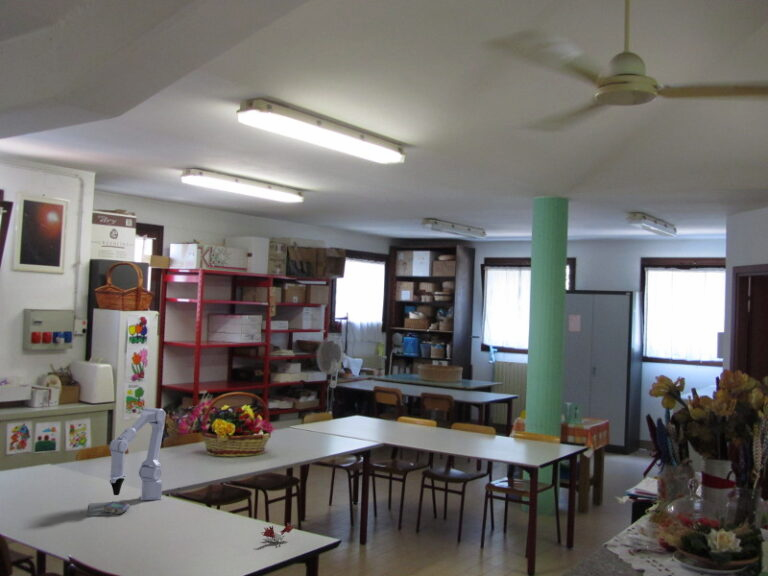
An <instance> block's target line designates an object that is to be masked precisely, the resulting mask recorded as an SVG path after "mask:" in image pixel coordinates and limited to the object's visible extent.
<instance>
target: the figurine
mask: <svg viewBox="0 0 768 576" xmlns="http://www.w3.org/2000/svg"><path fill="white" fill-rule="evenodd" d="M263 528H264V531H261V535H263V537H266V541H268V542H272V541H275V543H277V542H279V541H281V542H283V541H284V540H283V539H284V538H285V537H286V536H285V534H284V533H288V534H289V533H291V531H292V530H294V528H293V524H291V523H290V522H287V524H286V525H285V527H284V528H283V529H282V530H279V531H276V532H275V529H274V525H272V526H268V527H263Z"/></svg>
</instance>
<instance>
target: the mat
mask: <svg viewBox="0 0 768 576" xmlns="http://www.w3.org/2000/svg"><path fill="white" fill-rule="evenodd" d="M111 502H112V501H110V502H109V501H106V502H105V501H104V502H93V503H92V502H91V503H90V502H89V505H88V516H87V517H88V518H90V517H101V516H103V517H106V516H117V515H118V514H115V513H114V514H113V513H112V514H111V513H110V512H107V511H105V510H104V507H105V506H107V505H108V504H109V503H111Z"/></svg>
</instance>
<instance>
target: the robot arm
mask: <svg viewBox="0 0 768 576" xmlns="http://www.w3.org/2000/svg"><path fill="white" fill-rule="evenodd" d="M166 416H167V412H165V410H164V409H163V408H155V407H148V406H147V407H144V409H143V410H142V411H141V412H140V416H139V417H138V418H137V420H136V421H135V422H134V423H133V425H132V426H130V427H127V428H125V429H124V431H123V432H122V433H120V435H119V436H118V437H117V438H114V439H113V440H111V441H110V443H109V445H108V449H109V451H110V455H111V463H110V476H109V478H110V480H109V484H110V485H111V488H112V493H113V496H119V495H120V493H121V489H122V486H123V483H124V481H125V478H126V477H127V474H125V460H126V458H125V456H126V452H127V450H128V448H129V446H130V443H131V442H132V441H133V440H134V439H135V438H136V437H137V435H138V434H137V432H139V431H140V430H141V429H142V428H143V427H144V426H145V425H147V423H148V424H149V425H150V426H151V434H150V438H149V442H148V443H149V444H148V450H147V455H146V459H145V460H143V461H142V462H141V465H140V468H139V470H138V476H139V478H140V480H141V495H140V501H153V500H155V501H156V500H157V501H158V500H162V495H163V491H162V487H163V486H162V479H160V478H161V476H162V464H161V462H159V456H160V450H161V446H162V445H161V444H162V439H163V436H164V435H163V434H164V429H165V422H166Z"/></svg>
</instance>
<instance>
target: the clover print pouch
mask: <svg viewBox="0 0 768 576" xmlns="http://www.w3.org/2000/svg"><path fill="white" fill-rule="evenodd" d="M110 502H111V503H109V504H108V505H107V506H105V507H104V510H105V511H107V512H110V513H111V514H112V513H113V514H114V513H115V514H117V515H118V514H119V515H120V514H124V512H126V511H127V510H128V509H130V507H131V504H129V503H128V502H127V503H125V502H117V501H110Z"/></svg>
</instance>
